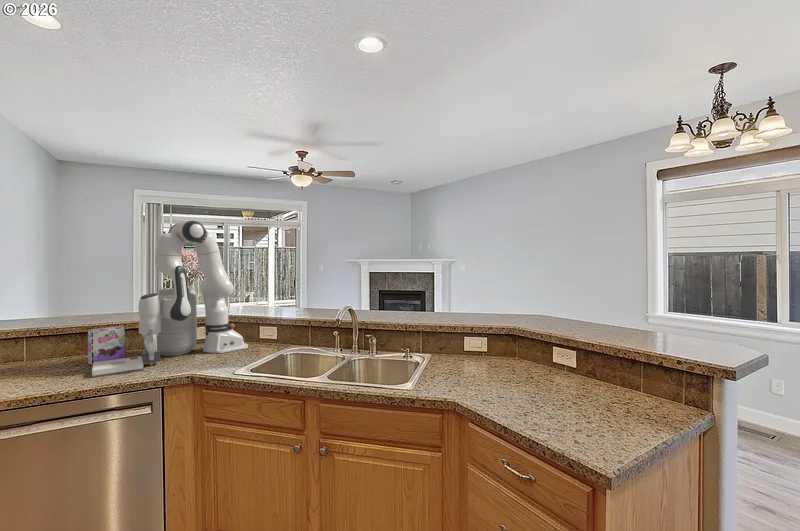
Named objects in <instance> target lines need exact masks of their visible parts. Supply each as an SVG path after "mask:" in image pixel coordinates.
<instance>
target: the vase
mask: <svg viewBox="0 0 800 531" xmlns="http://www.w3.org/2000/svg"><path fill="white" fill-rule="evenodd" d="M188 291H189V299H190V303H191V307H192V311H191V314H190V315H189V317H188V318H187V319H185V320H183V321H177V320H171V319H161V332H159V333H158V336H156V337H157V350H158V349H159V350H160V356H166V357H170V356H171V357H172V356H173V357H174V356H180V355H185V354H188V353H190V352H191V351H192V350H193V349H194V348H195V347H196V345H197V342H198V317H197V316H198V315H197V314H198V313H197V299H196V298H197V297H196V295H195V293H193V292H191V290H190V288H189V287H188ZM157 294H158V295H159V296H161V297H163V298H166V299H171V300H175V290H174V287H172V288H161V289H159V290H158V293H157Z"/></svg>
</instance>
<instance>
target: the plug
mask: <svg viewBox="0 0 800 531" xmlns="http://www.w3.org/2000/svg"><path fill="white" fill-rule="evenodd" d="M141 358H142V361H143V365H144V364H146V366H153V365H156V363H157V362H161V354H160V350H159V349H158V350H157V351H156V352H154V360H149V353H148V352H147V350H143V351H141Z"/></svg>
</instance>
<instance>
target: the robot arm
mask: <svg viewBox="0 0 800 531" xmlns="http://www.w3.org/2000/svg"><path fill="white" fill-rule="evenodd" d="M185 244H192V246H194V248H195V253H196V257H197V261H198V265H199V269H200V271H201V272H202V274H203V276H204V278H205V279H203V280H202V281H201V283H200V285H199V289H200V293H201V294H202V299H203V305H204V310H205V323H204V336H205V339H204V345H203V349H202V351H203V352H204V353H208V354H209V353H216V354H223V353H228V352H229V353H230V352H234V351H239V350H245V349H248V348H249V345H248V343H245V342H244V337H243V336H242V335H241V334H240V333H238V332H237V331H235V330H234V328H235V326H236V325H235V324H234V323H230V322H229V308H228V306H227V303H226V299H227V298H229V297H231V296H232V295H233V293H234V289H235V288H234V284H233V283H232V281H231V280H230V278H229V276H228V273H227V272H226V269H225V267H224V264H223V261H222V257H221V252H220V248H219V245H218V241H217V240H216V238H215V235H214V234H213V233H212V232H209V231H207V230H206V228H205V226H204V225H203V224H202V223H201V222H199V221H197V220H186V221H181V222H178V223H175V224H173V225H172V226H171V227H170V228H169V231H168V232H166V233H163V234H161V235H159V236H158V239H157V243H156V246H155V247H156V248H155V258H154V259H155V260H154V262H155V266H156V269H157V271H158V272H160V273H162V274H164V275H166V276H167V277H169V278H170V279H171V280H172V283H173V288H174V290H175V300H171V299H166V298H163V297H161V296H159V295H158V294H159V293H155V292H154V293H147V294H144V295H142V296H141V297H140V298H139V301H138V317H139V320H138V334H140V335H142V336H141V337H142V338H143V344H144V346H145V348H146V351H147V352H148V353H149V360H154V352H156V351H157V337H156V336H158V333H159V332H161V319H171V320H177V321H183V320H185V319H187V318H188V317H189V315H190V314H191V311H192V307H191V303H190V299H189V291H188V288H189V284H188V283H189V282H188V276H187V275H188V274H187V271H186V269H185V267H184V266H183V261H182V254H183V253H182V250H183V246H184V245H185Z"/></svg>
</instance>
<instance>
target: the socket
mask: <svg viewBox="0 0 800 531" xmlns="http://www.w3.org/2000/svg"><path fill="white" fill-rule="evenodd" d="M140 371H144V364H143V361H142V355H141V356H138V355H137V356H130V357H126V358H123V359H116V360H108V361H100V362H93V366H92V369H91V374H92V375H91V377H92V379H93V378H100V377H106V376H113V375H120V374H127V373H134V372H140Z"/></svg>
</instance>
